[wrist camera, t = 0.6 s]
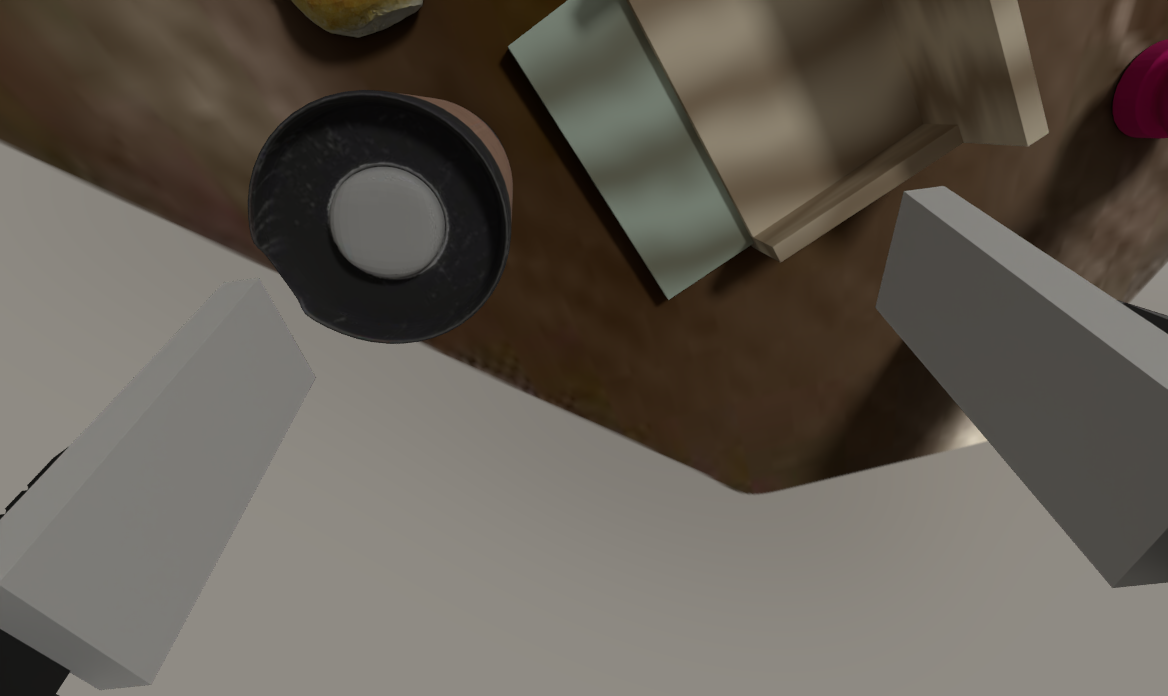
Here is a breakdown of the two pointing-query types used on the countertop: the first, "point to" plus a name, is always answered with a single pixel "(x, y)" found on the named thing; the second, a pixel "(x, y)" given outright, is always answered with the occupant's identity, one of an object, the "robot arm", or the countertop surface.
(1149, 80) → the pepper mill
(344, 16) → the bread roll
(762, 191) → the stepped plastic tray
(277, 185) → the travel mug
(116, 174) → the countertop surface
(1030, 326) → the robot arm
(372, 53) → the countertop surface
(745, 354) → the countertop surface
